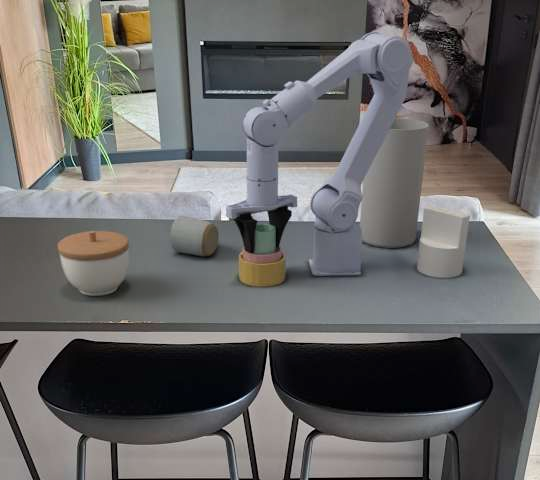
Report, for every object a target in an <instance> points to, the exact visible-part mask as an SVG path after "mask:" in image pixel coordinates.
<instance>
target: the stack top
mask: <svg viewBox="0 0 540 480" xmlns="http://www.w3.org/2000/svg"><path fill="white" fill-rule="evenodd" d="M242 252H243V260H245V261H247V262H251V263H257V264H268V263H274V262H278V261H280V260H281V259H282V252H283V248H282V246H281V245H279V247H277V248H276V252H275V253H274V254H270V255H256V254H251V253H249V252H247V251H245V247H244V246H243V247H242Z"/></svg>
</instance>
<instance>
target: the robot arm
mask: <svg viewBox="0 0 540 480" xmlns="http://www.w3.org/2000/svg"><path fill="white" fill-rule="evenodd" d="M414 62H415V60H414V56H413V53H412V49H411V47H410V43H409V42H408V41H407V40H406V39H405V38H404V37H402V36H400V35H388V34H382V33H379V32H378V31H372V32H371V31H370V32H368V33H366V34H364V35H363V36H362V37H361V38H360V39H357V40H355V41H353V42H352V43H351V44H350V45H349V46H348V48H346V49H345V50H343V52H342V53H340V54H339V55H338V56H337V57H335V58H334V59H333V60H332V61H331V62H330V63H327V64H326V65H325V66H324V67H323V68H322V69H321V70H319V71H318V72H316V74H314V75H313V76H312V77H311V78H309V79H308V80H306V81H302V80H295V81H294V82H293V81H288V82H286V83H285V84H283V86H284V89H283V90H281V91H280V92H279V93H277V94H276V95H275V96H273V97H272V98H270V99H268V98H266V99H265V100H263V101H262V106H259V107H258V106H256V107H252V108H251V109H250V110H248V111H247V113H246V114H245V117H244V118H243V122H242V123H241V130H242V132H243V134H244V135H245V136H246V199H244V200H241V201H240V202H239V201H238V202H236V203H234V204H230V205H226V206H225V216H226V217H227V218H228V219H230V220H233V221H234V223H235V225H236V227H237V229H238V231H239V234H240V236H241V239H242V242H243V247H245V251H247V252H249V253H254V236H255V229H256V225H257V224H258V220H257V219H255V218H254V217H253V214H260V213H264V212H267V217H268V224H270V225H273V226H275V227H276V248H277V247H279V246H281V245H280V244H281V241H282V237H283V234H284V231H285V229H286V226H287V224H288V223H289V221H290V220H291V218H292V216H293V215H292V214H293V211H292V210H290V209H289V208H297V207H298V196H296V195H294V194H283V195H279V143H280V142H281V140H282V139H283V137H284V135H285V131H287V130H288V129H290V128H291V127H292V126H293V125H295V124H296V123H298V121H300V120H301V119H303V118H304V117H305V116H307V115H308V114H310V113H312V111H314V110H315V109H316V106H317V101H318V99H319V98H320V97H322V96H323V95H325V94H326V93H328V92H329V91H331V90H333V89H334V88H335V87H337V86H338V85H341V84H342V83H343V82H345V81H347V80H348V79H349V78H351V77H352V76H354V75H357V74H358V75H360V74H361V75H364V74H365V75H367V76H368V78H369V81H370V84H371V85H372V86H371V87H372V90H373V93H374V94H373V96H372V98H371V100H370V102H369V104H368V106H367V108H366V110H365V113H364V114H363V116H362V118H361V120H360V122H359V124H358V127H357V128H356V130H355V132H354V135H353V136H352V138H351V140H350V142H349V144H348V146H347V147H346V150H345V152H344V154H343V156H342V158H341V160H340V162H339V164H338V166H337V168H336V170H335V171H334V173H332V174H330V175H329V176H327V177H326V178H325V179H324V181H323V183H322V185H321V186H320V187H319V188H318V189H317V190H315V191H314V192H313V194H312V195H311V198H310V201H309V208H310V210H311V213H312V214H313V215H314V216H315V219H314V223H313V225H314V226H313V228H314V229H313V250H312V252H313V253H312V258H311V259H309V260H308V263H309V267H310V270H311V273H312V276H314V277H323V276H325V277H327V276H330V277H331V276H332V277H333V276H360V275H361V273H362V272H361V267H362V251H363V241H362V230H361V227H360V225H354V224H355V223H356V222H357V220H358V216H359V208H360V206H361V203H362V185H363V180H364V178H365V176H366V174H367V172H368V170H369V168H370V166H371V164H372V162H373V160H374V158H375V156H376V154H377V152H378V150H379V149H380V147H381V145H382V143H383V141H384V139H385V137H386V135H387V133H388V131H389V129H390V127H391V125H392V123H393V121H394V119H395V118H397V115H398V113H399V112H400V110H401V108H402V106H403V104H404V102H405V100H406V97H407V93H408V84H409V75H410V70H411V68H412V66H413V65H414Z"/></svg>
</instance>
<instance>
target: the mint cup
mask: <svg viewBox="0 0 540 480" xmlns="http://www.w3.org/2000/svg"><path fill="white" fill-rule="evenodd" d="M275 252H276V227H275V226H273V225H270V224H269V223H257V225H256V229H255V236H254V253H251V254H256V255H270V254H274V253H275Z"/></svg>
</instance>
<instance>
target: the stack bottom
mask: <svg viewBox="0 0 540 480" xmlns="http://www.w3.org/2000/svg"><path fill="white" fill-rule="evenodd" d="M286 256H287V255H286V254H285V252H283V251H282V259H281V260H280V261H278V262H274V263H268V264H257V263H251V262H247V261H245V260H243V251H241V252H240V253H239V254H238V279H239V281H240V282H241V283H242V284H245V285H248V286H252V287H260V288H261V287H262V288H263V287H264V288H265V287H272V286H273V287H274V286H277V285H280V284H282V283H283V282H284V281H285V280H286V268H287V267H286V265H287V263H286V262H287V257H286Z"/></svg>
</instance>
